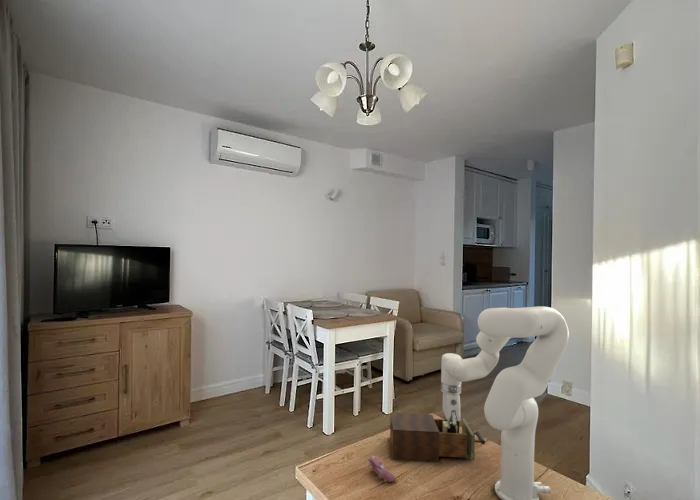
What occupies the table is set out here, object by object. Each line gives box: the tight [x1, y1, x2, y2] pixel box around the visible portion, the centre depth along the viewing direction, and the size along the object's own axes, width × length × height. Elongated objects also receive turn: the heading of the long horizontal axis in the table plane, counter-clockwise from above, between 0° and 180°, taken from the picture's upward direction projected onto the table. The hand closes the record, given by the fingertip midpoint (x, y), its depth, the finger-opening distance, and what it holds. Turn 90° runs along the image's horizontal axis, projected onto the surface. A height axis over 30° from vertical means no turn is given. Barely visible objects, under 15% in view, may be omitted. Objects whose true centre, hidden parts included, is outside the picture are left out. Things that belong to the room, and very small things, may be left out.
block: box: [442, 421, 457, 433], centre depth 139 cm, size 5×5×5 cm
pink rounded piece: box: [367, 455, 396, 483], centre depth 122 cm, size 10×5×7 cm, turn 25°
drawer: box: [434, 418, 486, 461], centre depth 139 cm, size 20×13×9 cm, turn 87°
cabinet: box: [389, 412, 440, 462], centre depth 139 cm, size 17×15×11 cm
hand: (449, 435), depth 139 cm, fingers closed on block, 4 cm apart
